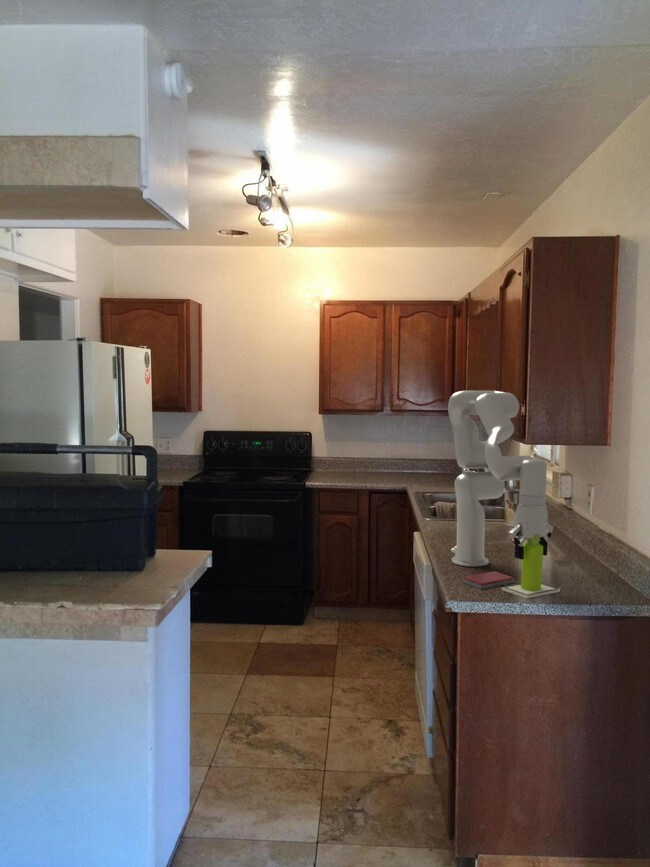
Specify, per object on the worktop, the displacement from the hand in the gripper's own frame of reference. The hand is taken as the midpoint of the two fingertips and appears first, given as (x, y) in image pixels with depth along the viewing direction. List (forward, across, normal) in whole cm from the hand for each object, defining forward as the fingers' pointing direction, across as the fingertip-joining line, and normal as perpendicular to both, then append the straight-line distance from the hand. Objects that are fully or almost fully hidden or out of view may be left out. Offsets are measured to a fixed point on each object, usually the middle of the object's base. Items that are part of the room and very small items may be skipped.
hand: (530, 556), depth 212 cm
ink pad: (+11, +5, -13) cm, 17 cm away
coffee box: (+12, -68, -74) cm, 101 cm away
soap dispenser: (+10, 0, 0) cm, 10 cm away
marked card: (+10, 0, 0) cm, 10 cm away
